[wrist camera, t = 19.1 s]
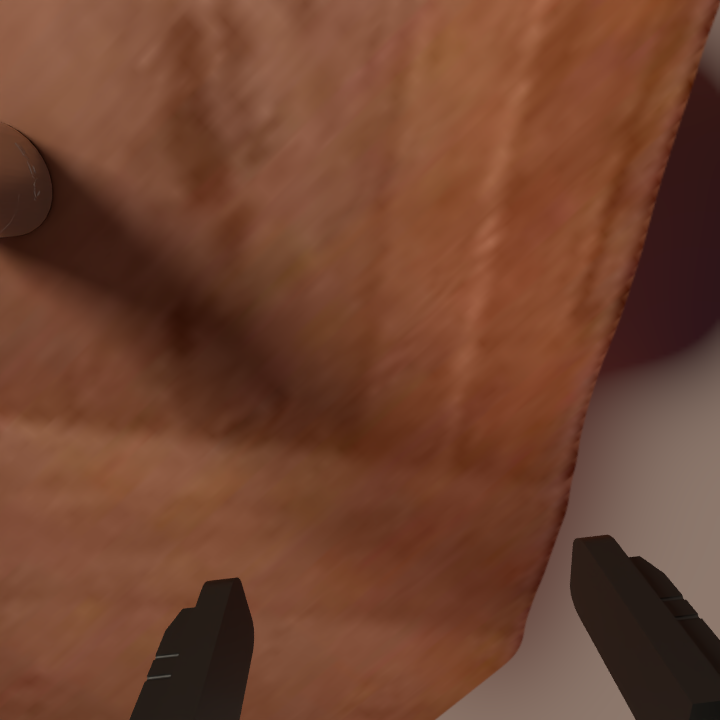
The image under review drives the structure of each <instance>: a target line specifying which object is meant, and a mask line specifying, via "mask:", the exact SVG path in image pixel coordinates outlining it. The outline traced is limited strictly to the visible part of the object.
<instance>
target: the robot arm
mask: <svg viewBox="0 0 720 720" xmlns="http://www.w3.org/2000/svg"><path fill="white" fill-rule="evenodd" d="M51 202H52V183H51V179H50V174H49V171H48V169H47V166H46V164H45V162H44V160H43V158H42V157H41V155H40V154H39V152H38V150H37V149H36V148H35V147H34V146H33V144H32V143H31V142H30V141H29V140H28V139H27V138H26V137H25V136H23V135H22V134H21V133H20V132H18V131H17V130H16V129H14V128H12V127H10V126H8V125H6V124H5V123H2V122H0V238H1V237H11V236H20V235H24V234H27V233H29V232H32V231H33V230H34V229H36V228H37V227H39V226H40V225H41V223H42V222H43V221H44V220H45V219H46V217H47V214H48V212H49V210H50V207H51ZM570 590H571V596H572V600H573V603H574V606H575V609H576V611H577V613H578V615H579V617H580V619H581V621H582V623H583V625H584V626H585V628H586V630H587V632H588V633H589V635H590V637H591V639H592V641H593V643H594V644H595V646H596V648H597V650H598V652H599V654H600V655H601V657H602V659H603V661H604V663H605V665H606V666H607V668H608V670H609V672H610V674H611V675H612V677H613V679H614V681H615V683H616V684H617V686H618V688H619V690H620V692H621V694H622V695H623V697H624V699H625V701H626V702H627V705H628V706H629V708H630V710H631V712H632V714H633V715H634V717H635V719H636V720H720V640H719V639H718V637H717V636H716V635H715V634H714V633H713V631H712V630H711V629H710V628H709V627H708V625H707V624H706V623H705V622H704V621H703V619H700V618H699V617H698V613H697V612H696V611H695V610H694V609H693V607H692V606H691V605H690V604H689V603H688V601H687V600H684V599H683V597H682V594H681V593H680V592H679V591H678V589H677V588H676V587H675V586H674V585H673V583H672V582H671V581H670V580H669V579H668V577H667V576H666V575H665V574H664V573H663V572H661V571H660V570H659V569H657V568H656V567H654V566H653V565H652V564H650V563H649V562H647V561H646V560H644V559H643V558H642V557H640V556H637V557H628V556H627V555H626V553H625V552H624V551H623V550H622V548H621V547H620V546H619V544H618V543H617V542H616V541H615V539H614V538H612V537H611V536H610V535H601V536H593V537H585V538H577V539H575V540H574V542H573V552H572V565H571V579H570ZM253 646H254V627H253V621H252V617H251V614H250V610H249V607H248V604H247V600H246V597H245V593H244V590H243V587H242V583H241V581H240V579H239V578H230V579H221V580H213V581H207V582H205V584H204V585H203V587H202V590H201V593H200V595H199V598H198V601H197V604H196V607H194V608H186V609H182V610H181V612H180V613H179V614H178V615H177V617H176V618H175V619H174V621H173V622H172V623H171V624H170V626H169V627H168V628H167V629H166V631H165V633H164V636H163V638H162V641H161V643H160V646H159V648H158V651H157V653H156V659H155V660H153V663H152V665H151V668H150V670H149V673H148V675H147V681H145V683H144V685H143V688H142V690H141V693H140V695H139V698H138V700H137V703H136V705H135V708H134V710H133V712H132V715H131V717H130V720H239V719H240V714H241V709H242V704H243V699H244V694H245V689H246V684H247V679H248V673H249V668H250V663H251V658H252V653H253Z"/></svg>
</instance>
